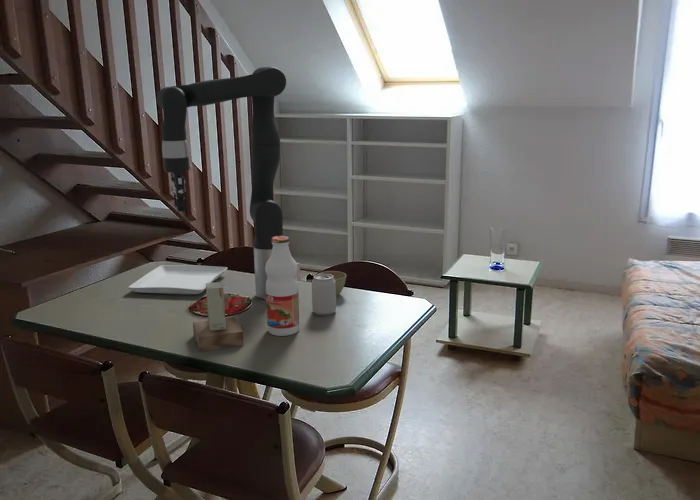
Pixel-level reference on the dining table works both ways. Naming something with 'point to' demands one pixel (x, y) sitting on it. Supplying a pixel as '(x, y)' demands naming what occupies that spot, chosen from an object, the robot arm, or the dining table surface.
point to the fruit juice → (282, 290)
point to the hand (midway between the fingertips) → (179, 208)
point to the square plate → (177, 279)
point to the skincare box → (215, 306)
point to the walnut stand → (218, 335)
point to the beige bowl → (337, 280)
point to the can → (323, 294)
